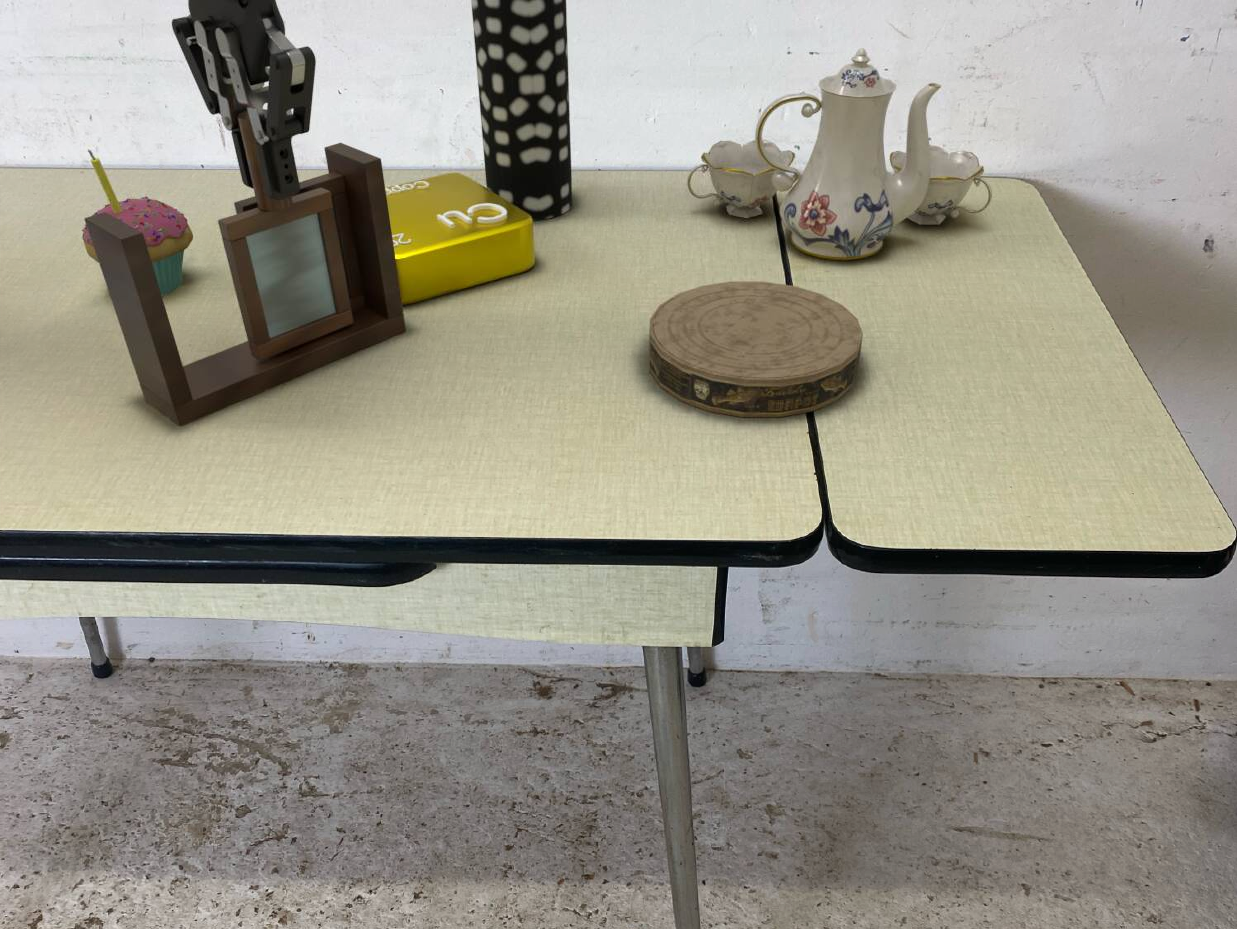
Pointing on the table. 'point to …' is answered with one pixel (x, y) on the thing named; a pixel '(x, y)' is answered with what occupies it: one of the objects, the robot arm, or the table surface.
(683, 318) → the brown flat banded disc
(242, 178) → the robot arm
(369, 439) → the table surface
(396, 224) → the element tile
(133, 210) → the cupcake
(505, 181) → the spotted tube
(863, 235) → the chinaware
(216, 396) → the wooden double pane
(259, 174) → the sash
